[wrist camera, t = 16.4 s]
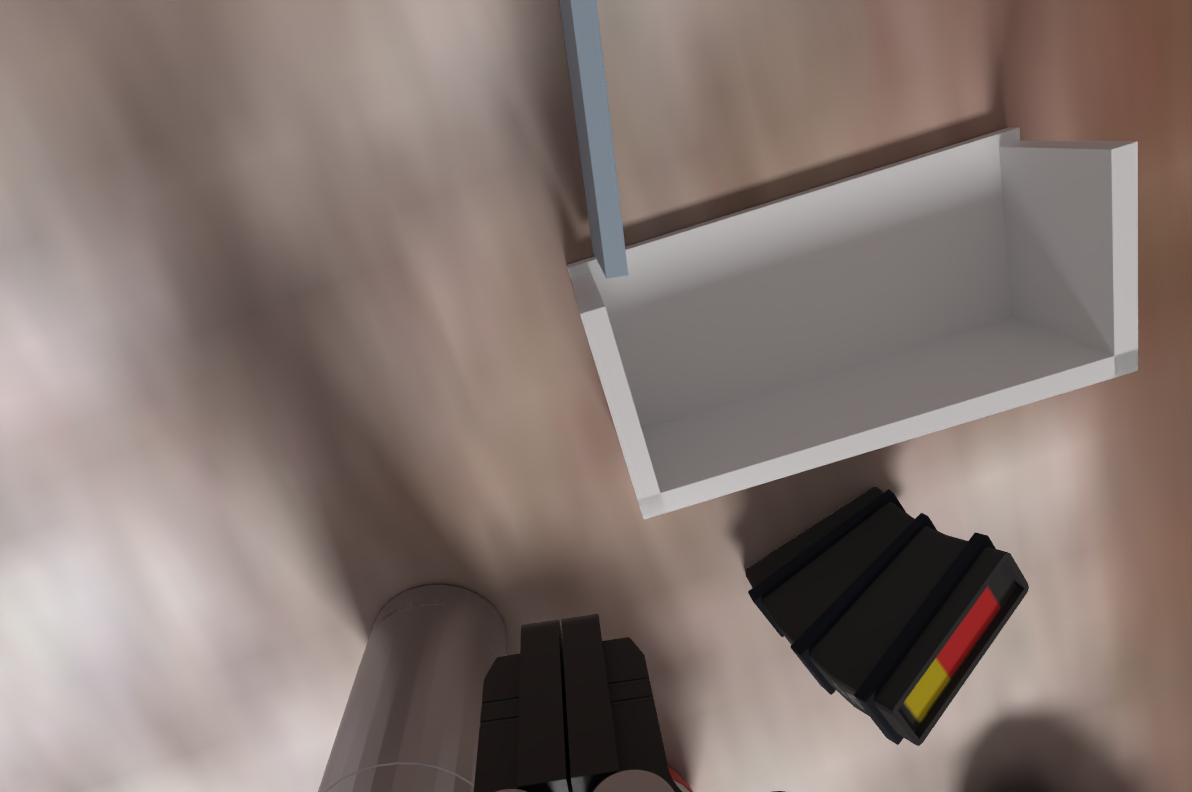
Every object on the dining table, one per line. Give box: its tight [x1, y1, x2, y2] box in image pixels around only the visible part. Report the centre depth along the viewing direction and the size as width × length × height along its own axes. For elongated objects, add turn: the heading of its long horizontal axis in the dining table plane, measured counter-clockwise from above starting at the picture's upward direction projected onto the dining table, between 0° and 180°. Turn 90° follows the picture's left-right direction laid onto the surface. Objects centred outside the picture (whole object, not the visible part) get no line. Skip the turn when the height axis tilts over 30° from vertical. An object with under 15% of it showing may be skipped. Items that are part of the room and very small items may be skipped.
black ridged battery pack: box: [745, 487, 1029, 746], centre depth 43 cm, size 4×13×15 cm, turn 126°
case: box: [567, 127, 1138, 519], centre depth 37 cm, size 12×26×9 cm, turn 106°
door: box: [559, 0, 628, 279], centre depth 31 cm, size 2×23×8 cm, turn 8°
